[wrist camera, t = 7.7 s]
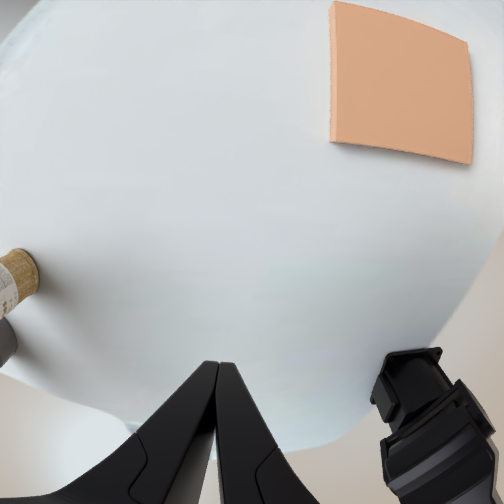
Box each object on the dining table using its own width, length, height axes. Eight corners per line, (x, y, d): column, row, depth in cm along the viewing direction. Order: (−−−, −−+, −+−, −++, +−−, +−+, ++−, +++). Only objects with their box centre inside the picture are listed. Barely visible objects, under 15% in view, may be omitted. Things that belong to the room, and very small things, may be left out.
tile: (327, 12, 15) (453, 47, 15) (327, 141, 18) (456, 162, 19) (334, 0, 13) (467, 42, 13) (335, 141, 17) (471, 164, 17)
